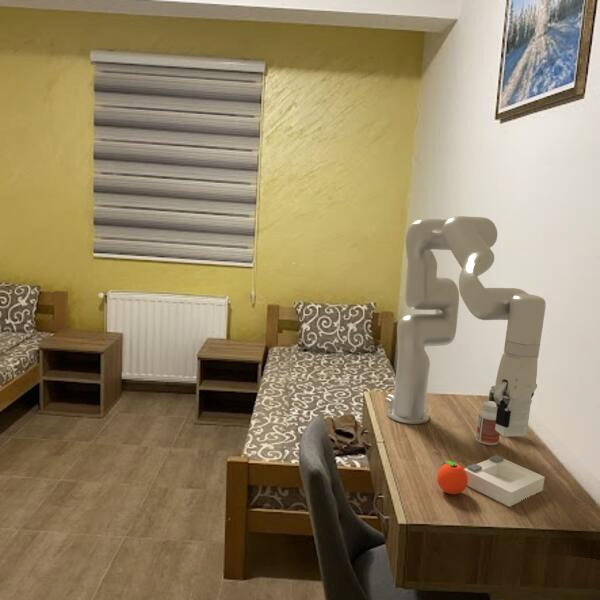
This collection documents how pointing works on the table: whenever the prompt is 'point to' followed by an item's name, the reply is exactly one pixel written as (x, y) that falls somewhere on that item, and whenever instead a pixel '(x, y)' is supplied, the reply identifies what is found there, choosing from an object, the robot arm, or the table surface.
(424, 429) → the table surface
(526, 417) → the skincare box
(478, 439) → the pill bottle
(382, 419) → the table surface
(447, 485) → the clementine
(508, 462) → the socket plate
